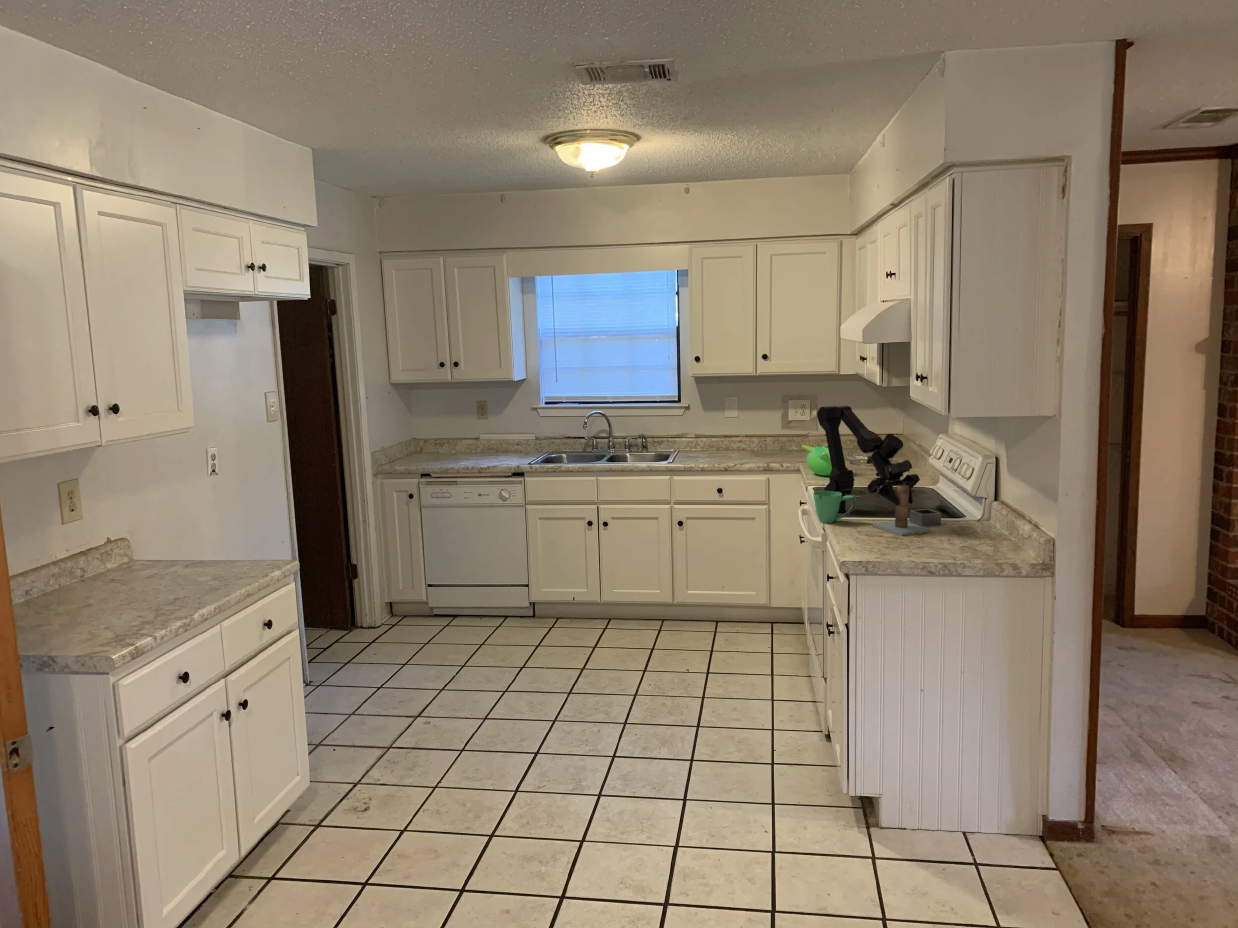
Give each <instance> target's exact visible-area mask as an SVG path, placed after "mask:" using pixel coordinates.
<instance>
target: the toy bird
mask: <svg viewBox="0 0 1238 928" xmlns="http://www.w3.org/2000/svg"><path fill="white" fill-rule="evenodd" d="M801 448H802V449H804V450H806V451H807V452H808V453H807V455H806V464H807V467H808V468H809V469H810V471H811V472H813V473H814V474H816V475H818V476H822V477H829V476H830V473H831V470H832V466H831V460H830V455H829V449H828V444H827V443H826V444H822V445H817V446H810V445H805V444H802V445H801ZM843 455H844V460H845V463H846V456H845V454H844V453H843Z"/></svg>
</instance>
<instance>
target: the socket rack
mask: <svg viewBox="0 0 1238 928" xmlns="http://www.w3.org/2000/svg"><path fill="white" fill-rule="evenodd" d="M909 521H910V522H909ZM908 522H909V523H911V524H914V523H915V524H914V525H917V524H918V526H921V527H928V526H927V525H931V526H939V525H942V512H939V511H936V510H932V509H930V508H924V509H908Z"/></svg>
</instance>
